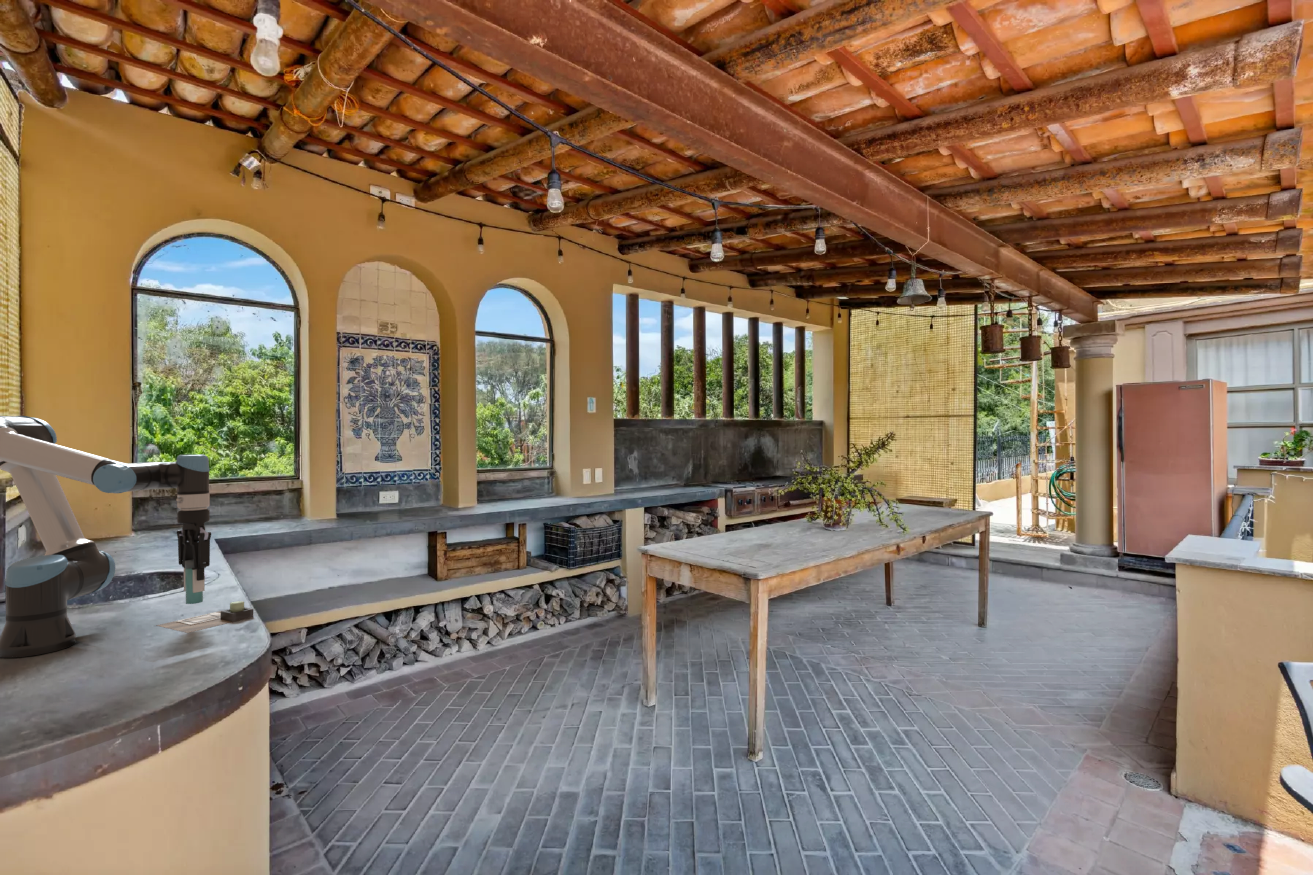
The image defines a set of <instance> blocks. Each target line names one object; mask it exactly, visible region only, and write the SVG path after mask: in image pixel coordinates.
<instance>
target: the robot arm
mask: <svg viewBox="0 0 1313 875" xmlns="http://www.w3.org/2000/svg"><path fill="white" fill-rule="evenodd" d="M57 438H58V436H57V434H56V431H55V429H54V428H53V427H52V426H51V425H50V423H48V422H47V421H45V420H43V419H40V418H38V417H34V416H33V417H31V416H28V415H27V416H26V415H0V470H1V471H4V472H7V473H9V474H10V476H11V479H13V480H12V481H13V482H14V484H15V487H16V489H17V492H18V493H19V495H20V497H21V500H22V501H23V504H24V506H25V509H26V510H27V513H28V515H29V517H30V519H31V521H32V524H33V525H34V528H35V530H36V531H37V532H36V533H37V534H38V537H39V538H40V541H41V543H42V545H43V548H44V549H45V552H44V553H45V554H44V555H37V556H35V557H29V558H23V559H21V560H18V561H15V562H13V563H11V564H10V565H9V566H8V567H7V569H6V573H5V578H4V585H5V587H4V589H5V595H4V596H5V623H4V627H3V628H2V631H1V633H0V658H2V659H3V658H4V659H5V658H7V659H8V658H9V659H10V658H11V659H13V658H14V659H15V658H24V657H25V658H26V657H31V656H32V657H33V656H39V655H44V654H49V653H52V652H57V651H61V650H64V649H67V648H70V647H72V646H74V645H75V644H76V642H77V640H76V636H77V635H76V634H77V633H76V632H75V630H74V628H73V625H72V623H71V620H70V618H69V617H68V601H69V600H73V599H75V598H79V597H82V596H88V595H91V594H93V593H96V592H98V591H100V590H103V589H104V588H106V587H107V586H109V584H110V583H111V582H112V580H113V578H114V577H115V575H116V569H117V568H116V562H115V560H114V558H113V556H112V555H111V554H109V553H108V552H105V551H104V550H99V549H98V546H97V545H96V543H95V541H93V540H90V539H87V538H86V537H85V536H84V534H83V531H82V529H81V527H80V524H79V523H78V520H77V518H76V516H75V514H74V511H73V509H72V507H71V504H70V503H69V500H68V498H67V496H66V493H65V492H64V489H63V487H62V486H61V485H62V484H61V483H60V481H59V478H58V477H62V478H66V479H70V480H74V481H77V482H81V483H85V484H88V485H90V486H94V487H95V488H97V490H99V491H101V492H102V493H105V494H122V493H129V492H137V491H146V490H155V489H156V490H157V489H158V490H159V489H160V490H161V489H176V494H177V498H176V500H175V501H176V502H177V504H176V505H177V506H176V507H177V509H179V510H177V512H176V516H177V518H176V519H177V524H180V525H182V528H181V529H178V530H177V531H176V536H177V551H178V552H177V553H178V554H177V555H178V565H180V566H182V568H183V591H184V592H186V572H185V561H186V560H191V559H194V567H195V568H192V570H193V593H196V592H201V591H203V592H206V590H205V569H206V568H207V567H210V560H211V559H210V558H211V557H210V556H211V555H210V554H211V553H210V552H211V537H212V532H211V531H206V526H205V523H208V522H209V521H210V516H211V514H210V513H211V512H210V509H209V507H210V497H211V496H210V494H211V493H210V472H211V470H210V464H209V462H210V461H209V456H207V455H206V454H179V455H177V457H176V460H175V461H142V462H132V463H131V462H130V463H129V462H128V463H127V462H123V461H118V460H115V459H110V458H107V457H104V456H100V455H97V454H92V453H90V452H85V451H82V450H79V449H78V450H77V449H74V448H70V447H67V446H63V445H59V444H56V443H57V441H58V440H57Z"/></svg>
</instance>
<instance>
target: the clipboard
mask: <svg viewBox="0 0 1313 875" xmlns="http://www.w3.org/2000/svg"><path fill="white" fill-rule="evenodd" d="M252 618H254V608H251V607H246V606H244V610H243V611H239V612H235V613H233V612H230V608H229V609H224V610H219V611H214V612H210V613H206V614H201V615H196V616H192V617H186V618H183V619H179V620H174V621H170V622H165V623H159V624H156V625H155V626H156V627H162V628H165V629H167V630H172V631H173V630H174V631H177V632H181V633H187V634H189V633H194V632H197V631H201V630H206V629H211V628H215V627H218V626H222V625H223V626H224V625H225V624H226V625H227V624H231V623H234V622H239V621H243V620H248V619H252Z"/></svg>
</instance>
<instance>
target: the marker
mask: <svg viewBox="0 0 1313 875" xmlns="http://www.w3.org/2000/svg"><path fill="white" fill-rule="evenodd" d="M192 568H195V567H194V559H191V560H186V561H185V572H186V591H185V604H186V605H196V604H199V603H203V601H204V591H201V592H196V593H193V570H192Z"/></svg>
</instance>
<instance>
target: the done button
mask: <svg viewBox="0 0 1313 875" xmlns="http://www.w3.org/2000/svg"><path fill="white" fill-rule="evenodd" d="M244 607H245V601H242V600H239V601H238V600H237V601H233V602H230V603H229V609H230V612H233V613H235V612H239V611H243V610H244Z"/></svg>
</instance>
